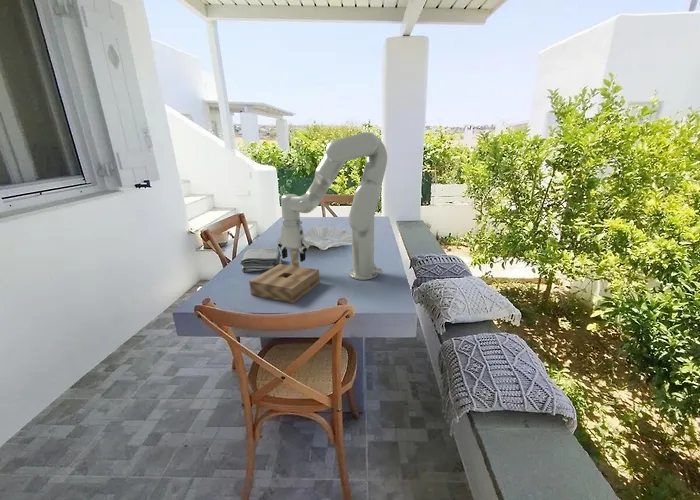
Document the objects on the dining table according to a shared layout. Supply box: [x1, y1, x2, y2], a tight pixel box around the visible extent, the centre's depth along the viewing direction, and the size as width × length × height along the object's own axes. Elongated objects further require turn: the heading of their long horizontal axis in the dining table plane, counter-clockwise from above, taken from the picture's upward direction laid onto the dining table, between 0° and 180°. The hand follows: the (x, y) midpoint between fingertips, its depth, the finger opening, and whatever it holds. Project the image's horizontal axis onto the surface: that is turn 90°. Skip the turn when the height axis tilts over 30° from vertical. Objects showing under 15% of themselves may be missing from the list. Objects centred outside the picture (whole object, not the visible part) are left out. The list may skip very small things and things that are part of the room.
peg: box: [290, 248, 300, 267], centre depth 148 cm, size 3×3×11 cm
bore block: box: [248, 263, 321, 304], centre depth 132 cm, size 20×20×6 cm
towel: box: [239, 246, 282, 273], centre depth 158 cm, size 15×18×8 cm
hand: (293, 259), depth 147 cm, fingers open, 9 cm apart
